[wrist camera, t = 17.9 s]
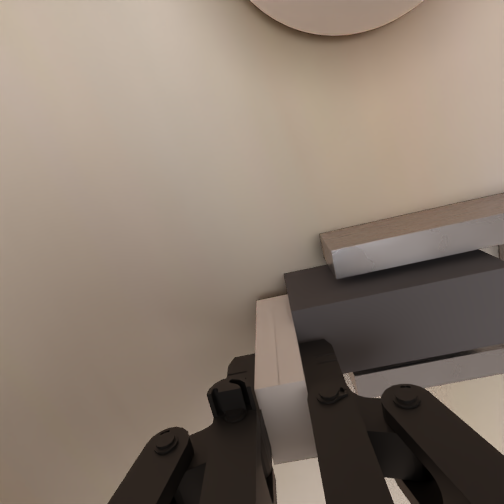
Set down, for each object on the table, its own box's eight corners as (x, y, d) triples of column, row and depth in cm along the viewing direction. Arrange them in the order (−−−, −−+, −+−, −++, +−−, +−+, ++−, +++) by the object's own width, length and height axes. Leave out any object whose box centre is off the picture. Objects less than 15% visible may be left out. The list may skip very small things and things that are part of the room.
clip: (343, 362, 19) (359, 399, 16) (319, 233, 17) (331, 250, 14) (529, 326, 18) (580, 359, 15) (523, 188, 16) (579, 196, 14)
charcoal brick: (295, 327, 19) (306, 380, 14) (283, 272, 18) (290, 311, 14) (456, 294, 18) (518, 340, 14) (451, 236, 17) (514, 265, 13)
